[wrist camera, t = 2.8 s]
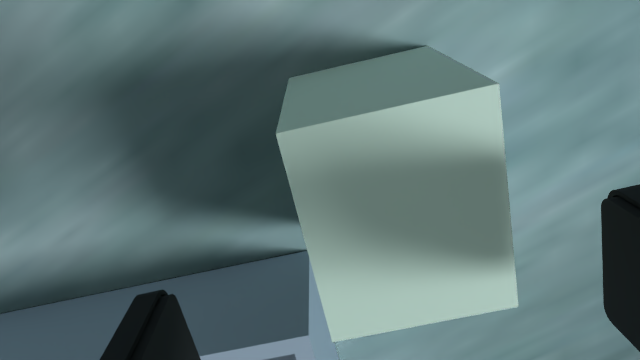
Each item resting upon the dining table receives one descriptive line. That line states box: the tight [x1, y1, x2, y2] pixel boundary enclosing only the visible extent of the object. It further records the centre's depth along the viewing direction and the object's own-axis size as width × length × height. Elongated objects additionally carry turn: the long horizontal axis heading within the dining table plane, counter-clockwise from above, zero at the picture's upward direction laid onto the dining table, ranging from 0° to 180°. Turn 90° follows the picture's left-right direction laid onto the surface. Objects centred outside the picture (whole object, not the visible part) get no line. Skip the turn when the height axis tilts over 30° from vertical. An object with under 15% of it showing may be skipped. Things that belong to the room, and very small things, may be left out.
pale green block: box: [276, 46, 518, 342], centre depth 15 cm, size 6×5×7 cm
